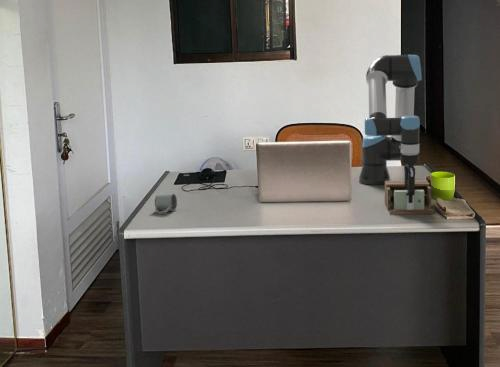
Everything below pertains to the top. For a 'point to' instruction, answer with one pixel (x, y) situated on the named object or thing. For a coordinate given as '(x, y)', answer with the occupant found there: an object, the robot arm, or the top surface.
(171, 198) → the ceramic mug
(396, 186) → the cabinet
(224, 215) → the top surface
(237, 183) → the top surface
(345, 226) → the top surface
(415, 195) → the pale green box
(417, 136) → the robot arm
